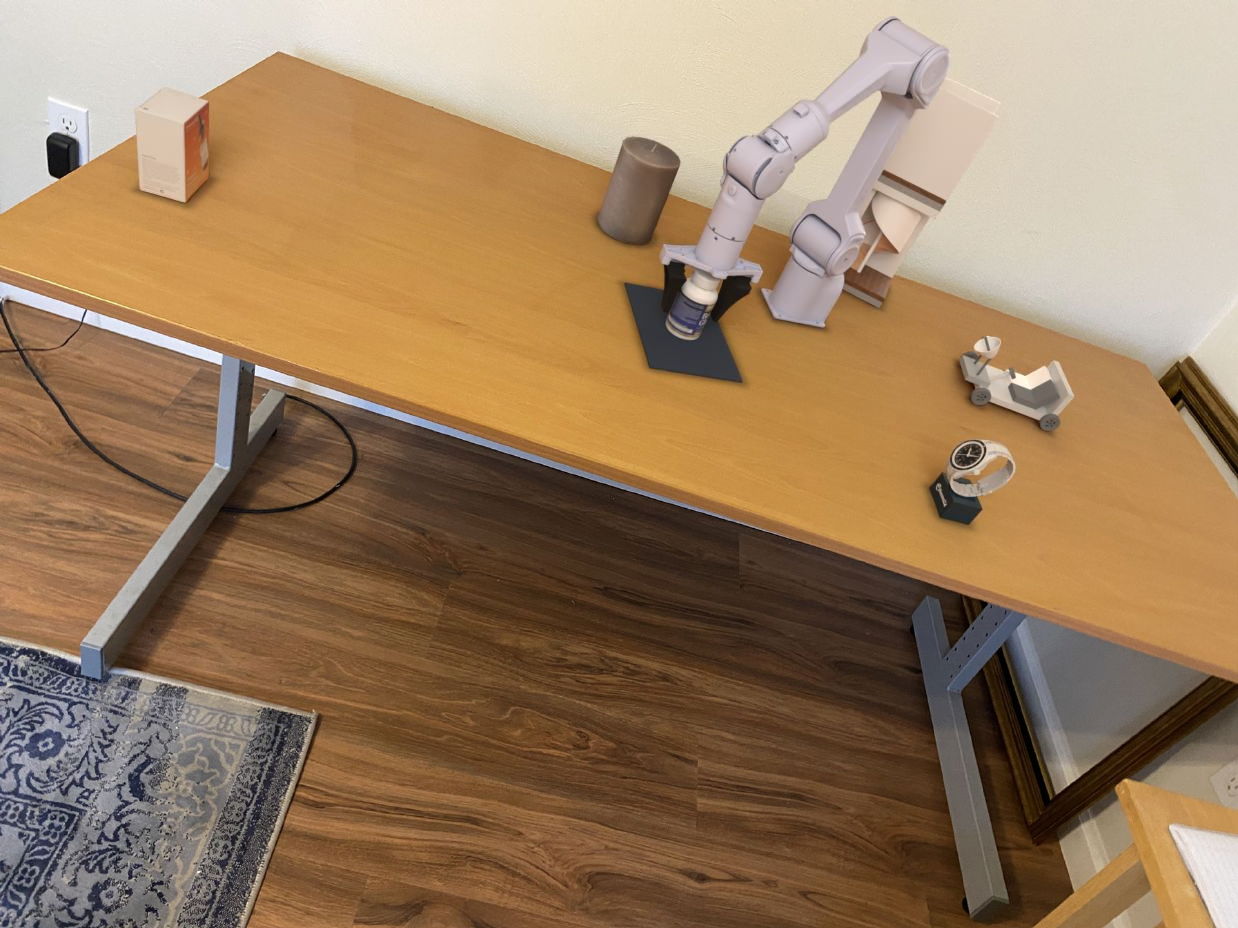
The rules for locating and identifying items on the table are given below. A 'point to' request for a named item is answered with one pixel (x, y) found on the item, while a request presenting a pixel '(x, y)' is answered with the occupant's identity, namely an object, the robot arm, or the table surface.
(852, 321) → the table surface
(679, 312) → the pill bottle
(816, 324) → the robot arm
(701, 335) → the felt mat
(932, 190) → the tall cream cabinet
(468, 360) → the table surface
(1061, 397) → the toy car
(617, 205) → the pillar candle
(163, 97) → the small box
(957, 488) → the watch
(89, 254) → the table surface
